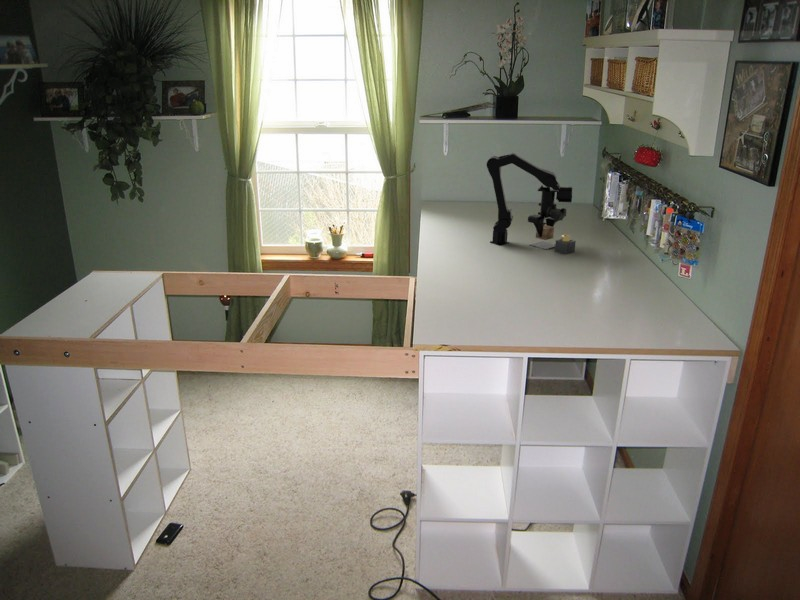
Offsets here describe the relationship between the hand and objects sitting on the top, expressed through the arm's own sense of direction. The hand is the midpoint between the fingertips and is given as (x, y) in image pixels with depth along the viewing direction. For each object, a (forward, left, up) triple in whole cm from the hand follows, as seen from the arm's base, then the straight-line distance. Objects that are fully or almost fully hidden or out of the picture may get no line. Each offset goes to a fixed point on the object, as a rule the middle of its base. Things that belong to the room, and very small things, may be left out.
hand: (544, 235), depth 291 cm
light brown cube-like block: (0, 0, -1) cm, 1 cm away
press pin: (0, -12, -2) cm, 12 cm away
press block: (0, -12, -5) cm, 13 cm away
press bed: (0, 0, -5) cm, 5 cm away
